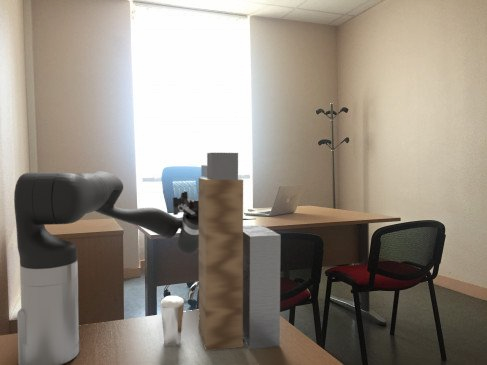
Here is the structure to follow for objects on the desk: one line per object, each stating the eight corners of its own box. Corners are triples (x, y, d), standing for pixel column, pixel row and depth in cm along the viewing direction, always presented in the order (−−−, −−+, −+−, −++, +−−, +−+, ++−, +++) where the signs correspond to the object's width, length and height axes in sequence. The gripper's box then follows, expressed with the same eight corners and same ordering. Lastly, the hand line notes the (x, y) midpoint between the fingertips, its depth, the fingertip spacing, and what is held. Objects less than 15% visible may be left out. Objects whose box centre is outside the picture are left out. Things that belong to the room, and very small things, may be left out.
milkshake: (183, 349, 74) (183, 297, 74) (156, 347, 76) (156, 295, 75) (191, 339, 79) (191, 289, 78) (166, 336, 80) (165, 288, 79)
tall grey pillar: (249, 349, 75) (250, 236, 74) (235, 324, 86) (235, 226, 85) (279, 346, 76) (280, 235, 75) (261, 321, 88) (262, 225, 87)
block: (211, 179, 73) (211, 152, 73) (197, 176, 91) (197, 154, 91) (237, 179, 74) (238, 152, 74) (218, 176, 92) (218, 154, 92)
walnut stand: (206, 350, 74) (206, 179, 73) (198, 328, 84) (198, 177, 82) (242, 346, 76) (243, 179, 74) (231, 325, 86) (231, 177, 84)
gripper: (170, 206, 114) (173, 180, 100) (219, 205, 117) (229, 180, 103) (171, 231, 110) (175, 208, 96) (221, 229, 114) (232, 206, 100)
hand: (203, 193), depth 100 cm, fingers open, 8 cm apart
